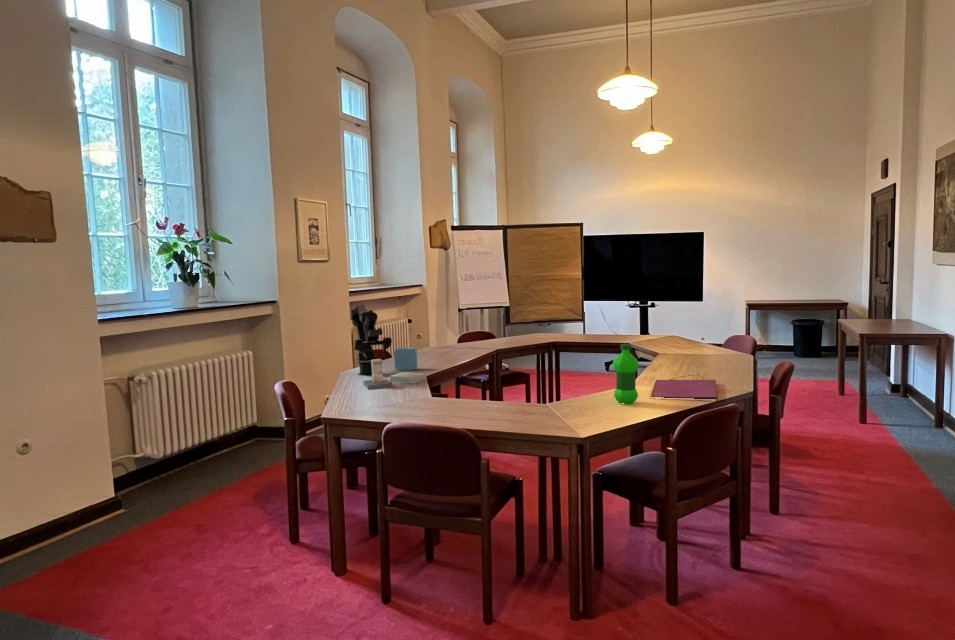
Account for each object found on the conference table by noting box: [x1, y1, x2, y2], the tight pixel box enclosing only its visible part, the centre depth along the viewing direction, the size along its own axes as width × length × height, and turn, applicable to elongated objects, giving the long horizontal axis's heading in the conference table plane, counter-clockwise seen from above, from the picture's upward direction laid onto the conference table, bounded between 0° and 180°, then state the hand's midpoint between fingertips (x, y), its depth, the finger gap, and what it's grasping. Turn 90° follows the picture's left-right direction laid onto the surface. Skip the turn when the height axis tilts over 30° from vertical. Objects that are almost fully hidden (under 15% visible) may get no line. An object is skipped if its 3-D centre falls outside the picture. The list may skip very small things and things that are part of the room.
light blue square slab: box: [393, 347, 418, 371], centre depth 370 cm, size 12×4×12 cm, turn 88°
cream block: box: [370, 358, 384, 384], centre depth 327 cm, size 4×4×13 cm
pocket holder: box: [363, 378, 393, 390], centre depth 328 cm, size 12×12×2 cm
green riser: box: [389, 371, 427, 384], centre depth 339 cm, size 14×12×3 cm
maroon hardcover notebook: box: [650, 374, 718, 400], centre depth 300 cm, size 40×4×27 cm
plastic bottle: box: [612, 343, 640, 405], centre depth 277 cm, size 10×10×25 cm
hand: (375, 357), depth 334 cm, fingers open, 9 cm apart
